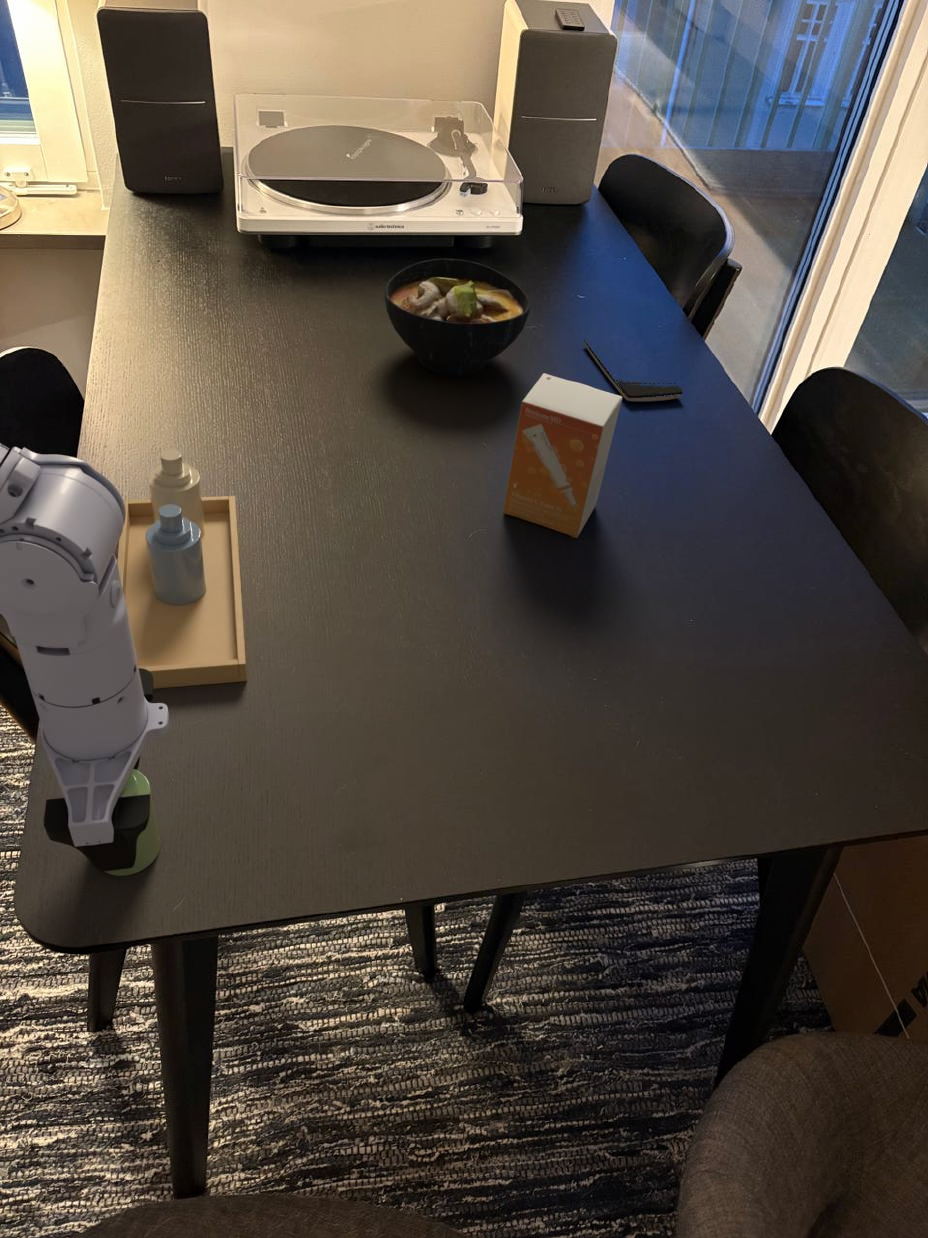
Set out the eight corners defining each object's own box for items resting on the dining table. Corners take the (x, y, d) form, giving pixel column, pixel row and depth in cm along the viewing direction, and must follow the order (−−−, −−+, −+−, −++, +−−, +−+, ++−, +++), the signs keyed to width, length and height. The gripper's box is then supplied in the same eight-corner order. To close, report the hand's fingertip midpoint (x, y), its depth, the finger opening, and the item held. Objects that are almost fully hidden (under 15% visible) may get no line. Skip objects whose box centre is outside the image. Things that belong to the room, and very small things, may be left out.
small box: (501, 514, 97) (519, 399, 88) (523, 482, 101) (542, 370, 92) (578, 540, 95) (604, 425, 86) (597, 506, 99) (624, 394, 90)
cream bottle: (155, 547, 87) (143, 469, 81) (156, 517, 90) (144, 440, 85) (205, 544, 88) (197, 468, 82) (204, 515, 91) (196, 439, 86)
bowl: (509, 328, 126) (519, 253, 119) (531, 397, 114) (544, 318, 107) (378, 323, 124) (381, 246, 117) (386, 393, 111) (390, 312, 105)
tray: (112, 692, 75) (108, 674, 74) (124, 517, 91) (121, 500, 89) (247, 681, 77) (245, 663, 76) (236, 512, 93) (235, 495, 91)
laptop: (635, 333, 126) (685, 392, 116) (633, 341, 127) (682, 401, 117) (583, 335, 124) (629, 396, 114) (581, 344, 125) (626, 405, 115)
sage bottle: (90, 880, 63) (67, 803, 58) (94, 824, 66) (73, 746, 61) (160, 871, 64) (144, 795, 59) (161, 816, 67) (146, 739, 62)
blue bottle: (153, 607, 82) (140, 528, 76) (154, 573, 85) (142, 495, 79) (207, 603, 83) (198, 525, 77) (206, 570, 86) (197, 493, 80)
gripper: (156, 765, 49) (183, 905, 59) (160, 578, 59) (183, 723, 69) (7, 780, 48) (59, 921, 57) (38, 586, 58) (78, 732, 67)
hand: (119, 814), depth 63 cm, fingers open, 7 cm apart
